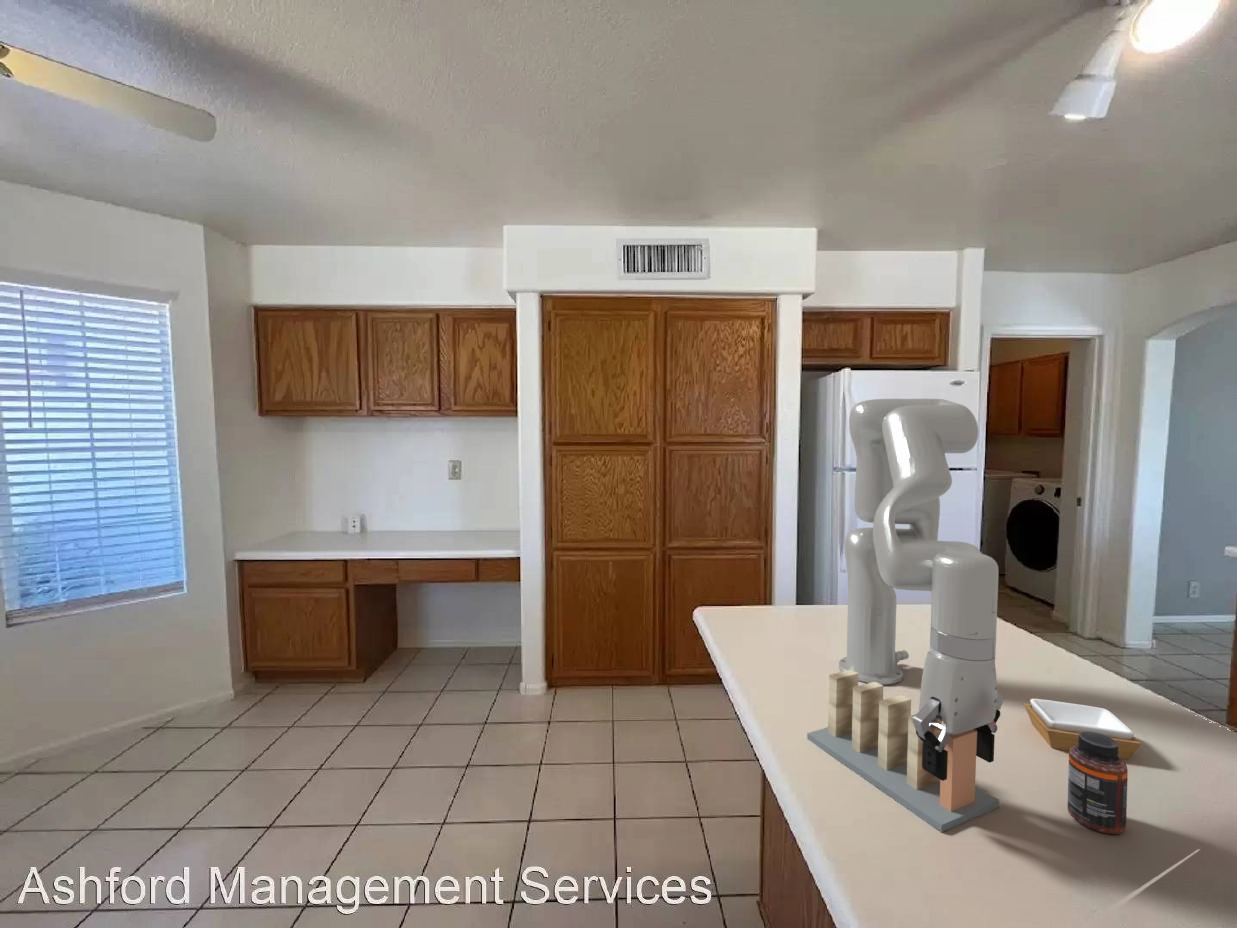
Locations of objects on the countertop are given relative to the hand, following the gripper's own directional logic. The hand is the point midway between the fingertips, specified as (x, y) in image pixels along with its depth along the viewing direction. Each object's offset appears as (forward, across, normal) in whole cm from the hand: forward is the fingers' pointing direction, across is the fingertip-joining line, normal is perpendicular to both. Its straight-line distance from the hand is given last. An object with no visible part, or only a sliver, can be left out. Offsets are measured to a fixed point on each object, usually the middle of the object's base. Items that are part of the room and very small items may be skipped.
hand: (958, 765), depth 75 cm
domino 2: (+5, 0, -15) cm, 16 cm away
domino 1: (+5, 0, -20) cm, 21 cm away
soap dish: (+7, -35, -3) cm, 36 cm away
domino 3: (+5, 0, -10) cm, 11 cm away
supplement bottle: (+6, -15, +9) cm, 19 cm away
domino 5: (+5, 0, 0) cm, 5 cm away
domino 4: (+5, 0, -5) cm, 7 cm away
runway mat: (+6, 0, -10) cm, 12 cm away
